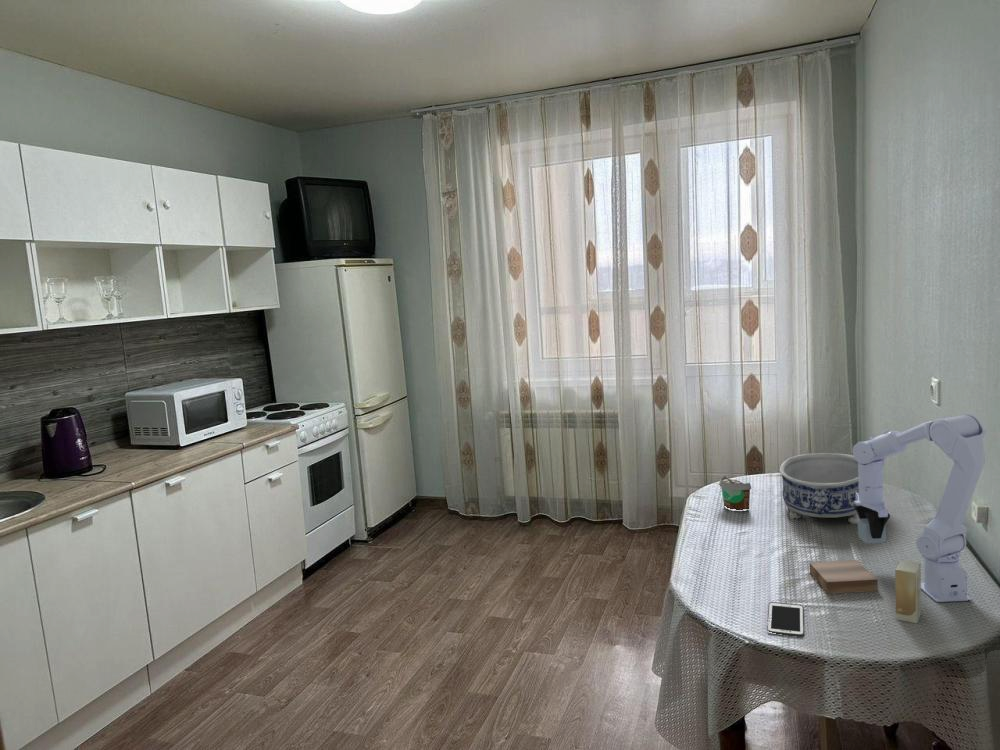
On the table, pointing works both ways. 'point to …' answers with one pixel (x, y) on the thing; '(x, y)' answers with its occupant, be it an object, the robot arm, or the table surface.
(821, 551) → the table surface
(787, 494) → the decorative bowl
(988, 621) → the table surface
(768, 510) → the table surface
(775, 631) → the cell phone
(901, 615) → the skincare box
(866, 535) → the slate cube
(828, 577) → the walnut base
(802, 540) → the table surface
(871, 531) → the robot arm
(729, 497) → the food container
